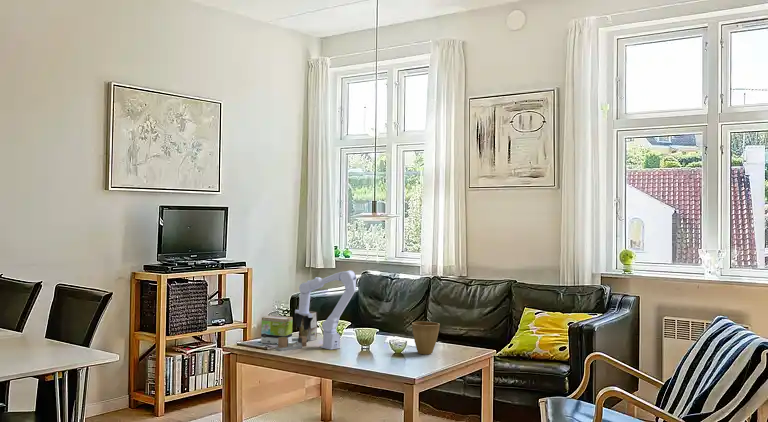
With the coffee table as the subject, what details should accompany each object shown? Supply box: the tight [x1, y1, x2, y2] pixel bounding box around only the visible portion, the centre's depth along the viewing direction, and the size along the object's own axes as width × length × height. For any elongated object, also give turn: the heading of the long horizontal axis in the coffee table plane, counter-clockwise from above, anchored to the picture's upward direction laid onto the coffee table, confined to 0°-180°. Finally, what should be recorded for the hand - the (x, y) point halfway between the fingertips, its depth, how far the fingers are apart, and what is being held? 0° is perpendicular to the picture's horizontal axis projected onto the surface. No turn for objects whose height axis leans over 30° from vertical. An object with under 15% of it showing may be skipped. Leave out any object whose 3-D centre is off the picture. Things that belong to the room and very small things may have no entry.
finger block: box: [297, 336, 308, 348], centre depth 387 cm, size 4×4×5 cm
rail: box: [274, 337, 303, 352], centre depth 377 cm, size 5×14×6 cm, turn 133°
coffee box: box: [298, 310, 318, 342], centre depth 408 cm, size 9×6×16 cm
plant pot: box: [411, 321, 441, 355], centre depth 373 cm, size 15×15×16 cm
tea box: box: [260, 314, 294, 344], centre depth 394 cm, size 15×10×15 cm, turn 73°
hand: (302, 328), depth 387 cm, fingers open, 7 cm apart
